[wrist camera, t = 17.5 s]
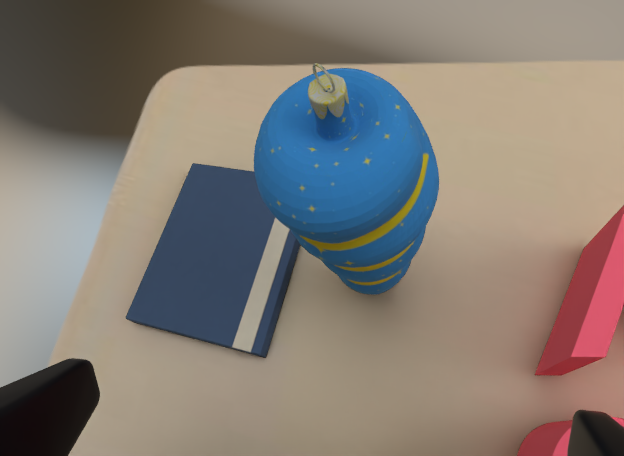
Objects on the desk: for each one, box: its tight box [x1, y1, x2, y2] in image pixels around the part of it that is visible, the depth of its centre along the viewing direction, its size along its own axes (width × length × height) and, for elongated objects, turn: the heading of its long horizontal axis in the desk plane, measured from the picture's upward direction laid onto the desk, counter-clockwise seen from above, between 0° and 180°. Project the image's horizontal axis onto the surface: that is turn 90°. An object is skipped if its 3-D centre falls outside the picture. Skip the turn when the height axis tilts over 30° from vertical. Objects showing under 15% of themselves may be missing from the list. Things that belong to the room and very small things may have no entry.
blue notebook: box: [126, 163, 300, 358], centre depth 25 cm, size 10×8×1 cm
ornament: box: [254, 63, 439, 294], centre depth 16 cm, size 5×5×15 cm
